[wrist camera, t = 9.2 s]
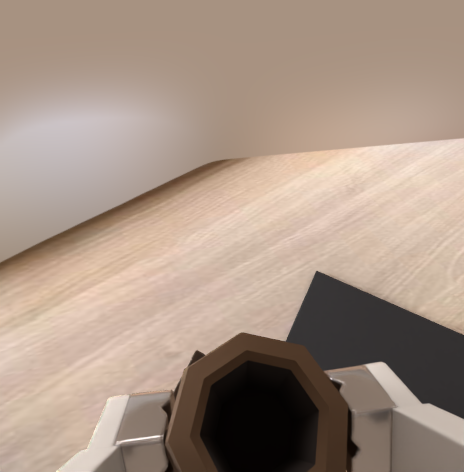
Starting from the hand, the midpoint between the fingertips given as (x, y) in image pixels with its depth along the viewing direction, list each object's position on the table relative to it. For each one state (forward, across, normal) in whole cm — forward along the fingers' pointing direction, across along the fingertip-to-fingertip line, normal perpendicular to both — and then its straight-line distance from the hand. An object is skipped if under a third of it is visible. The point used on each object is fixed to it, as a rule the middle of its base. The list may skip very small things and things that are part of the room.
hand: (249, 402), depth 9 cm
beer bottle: (+15, 0, +16) cm, 22 cm away
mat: (+27, -16, +19) cm, 37 cm away
